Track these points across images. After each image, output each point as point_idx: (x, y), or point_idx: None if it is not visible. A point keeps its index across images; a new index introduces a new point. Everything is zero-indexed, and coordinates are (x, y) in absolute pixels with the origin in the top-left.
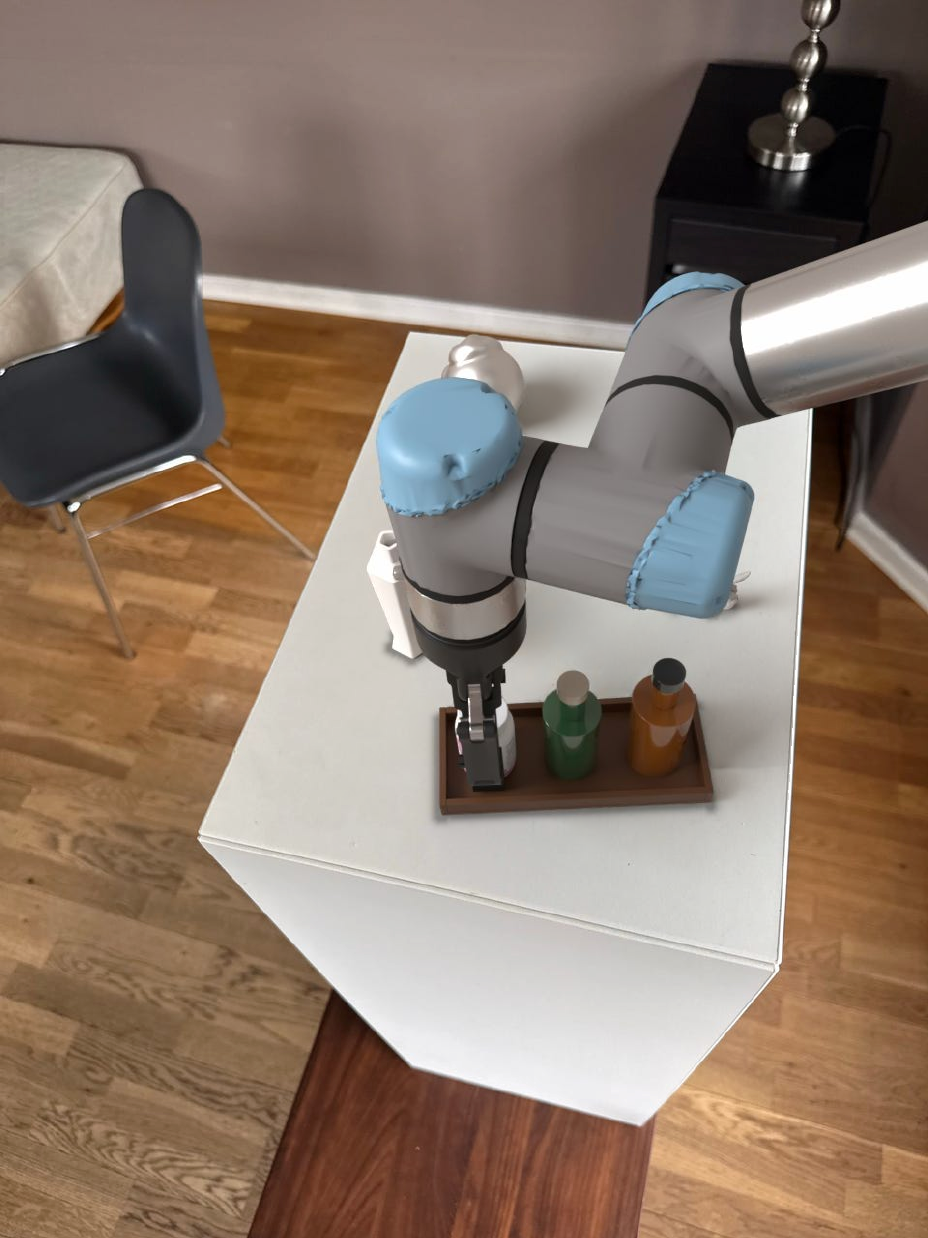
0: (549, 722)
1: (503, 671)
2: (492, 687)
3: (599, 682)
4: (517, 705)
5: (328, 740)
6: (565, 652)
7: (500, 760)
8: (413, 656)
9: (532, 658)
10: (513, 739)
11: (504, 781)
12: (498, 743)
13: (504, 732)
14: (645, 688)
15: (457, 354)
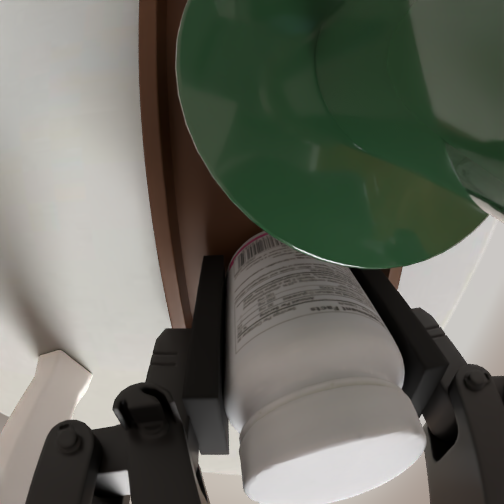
0: (449, 231)
1: (123, 405)
2: (190, 412)
3: (86, 40)
4: (160, 232)
5: (233, 440)
6: (23, 123)
7: (487, 382)
8: (89, 375)
9: (40, 189)
10: (346, 297)
11: (380, 269)
12: (497, 439)
13: (377, 367)
14: None
15: None
